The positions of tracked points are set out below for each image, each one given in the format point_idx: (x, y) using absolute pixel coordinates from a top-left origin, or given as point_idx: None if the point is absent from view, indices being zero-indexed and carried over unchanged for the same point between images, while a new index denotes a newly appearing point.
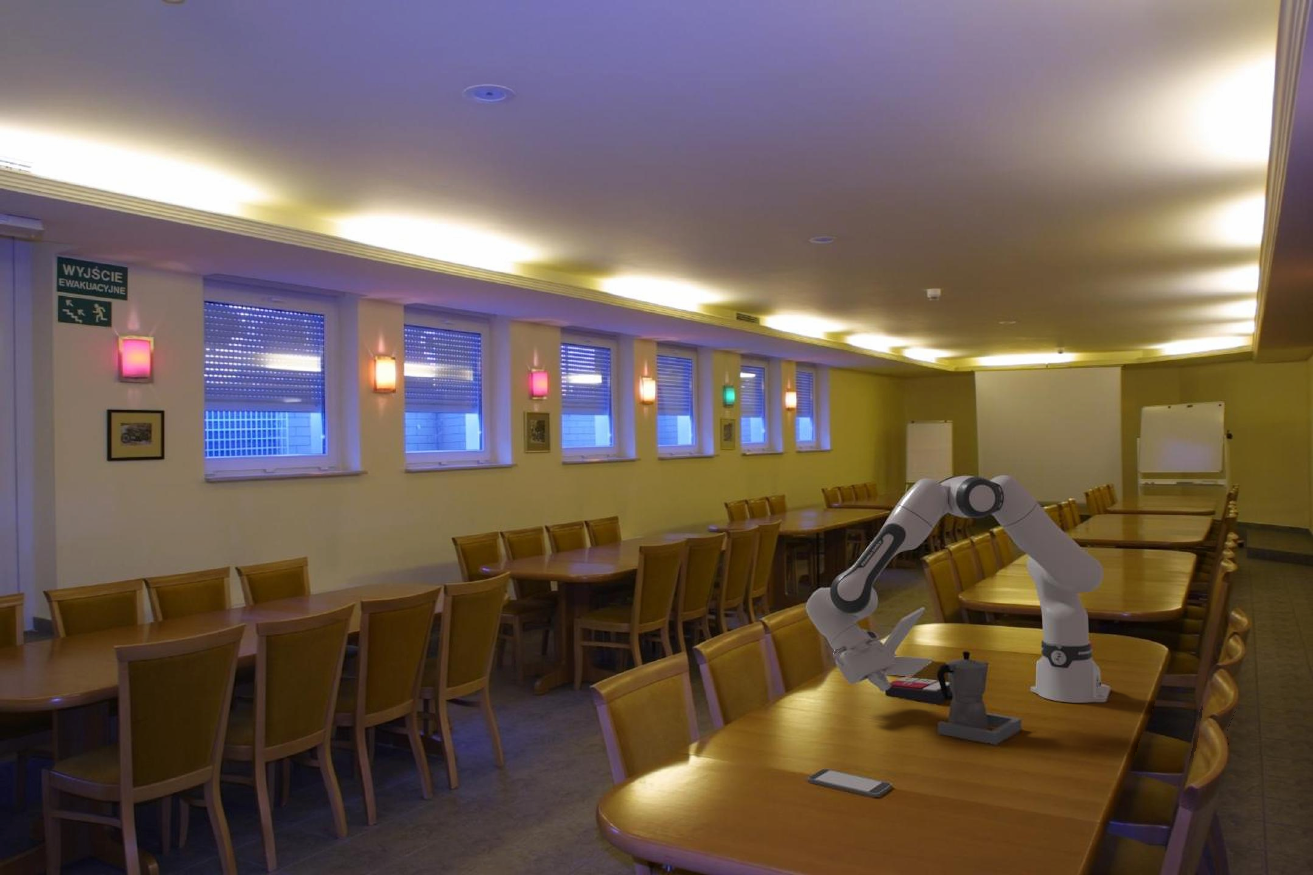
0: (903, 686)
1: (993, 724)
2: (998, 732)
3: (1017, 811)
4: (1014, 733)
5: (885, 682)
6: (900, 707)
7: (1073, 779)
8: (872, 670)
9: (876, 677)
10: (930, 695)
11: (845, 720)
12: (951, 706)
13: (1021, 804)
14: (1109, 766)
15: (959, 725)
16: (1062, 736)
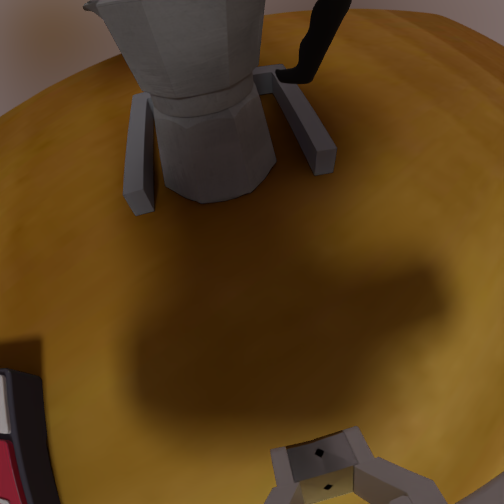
0: None
1: (151, 143)
2: (268, 66)
3: (433, 33)
4: None
5: (324, 464)
6: (163, 467)
7: None
8: (479, 497)
9: (421, 479)
10: (24, 399)
11: (488, 444)
12: (244, 129)
13: (421, 32)
14: None
15: (301, 112)
16: None
